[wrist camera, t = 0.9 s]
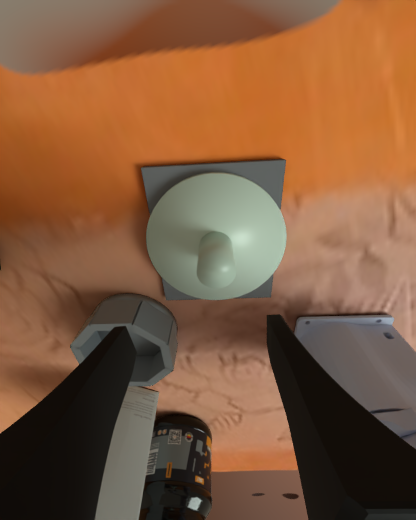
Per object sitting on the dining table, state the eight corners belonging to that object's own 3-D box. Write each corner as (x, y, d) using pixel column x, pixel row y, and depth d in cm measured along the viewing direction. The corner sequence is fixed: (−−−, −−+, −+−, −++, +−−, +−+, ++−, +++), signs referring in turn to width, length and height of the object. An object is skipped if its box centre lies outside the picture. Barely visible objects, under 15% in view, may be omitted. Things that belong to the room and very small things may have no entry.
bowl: (171, 292, 22) (163, 322, 19) (181, 352, 27) (177, 385, 24) (81, 294, 23) (58, 325, 19) (106, 353, 27) (91, 386, 24)
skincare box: (92, 395, 32) (12, 575, 19) (103, 372, 29) (18, 565, 17) (148, 411, 34) (109, 584, 21) (164, 391, 31) (129, 577, 18)
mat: (283, 159, 16) (285, 160, 16) (269, 293, 22) (270, 297, 22) (143, 166, 17) (141, 167, 16) (167, 296, 23) (166, 300, 22)
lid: (292, 167, 16) (318, 181, 12) (276, 292, 21) (290, 329, 18) (135, 175, 16) (111, 191, 12) (160, 296, 22) (148, 333, 18)
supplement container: (202, 447, 40) (199, 560, 29) (142, 438, 38) (116, 553, 28) (220, 417, 34) (223, 542, 24) (150, 406, 33) (122, 533, 23)
